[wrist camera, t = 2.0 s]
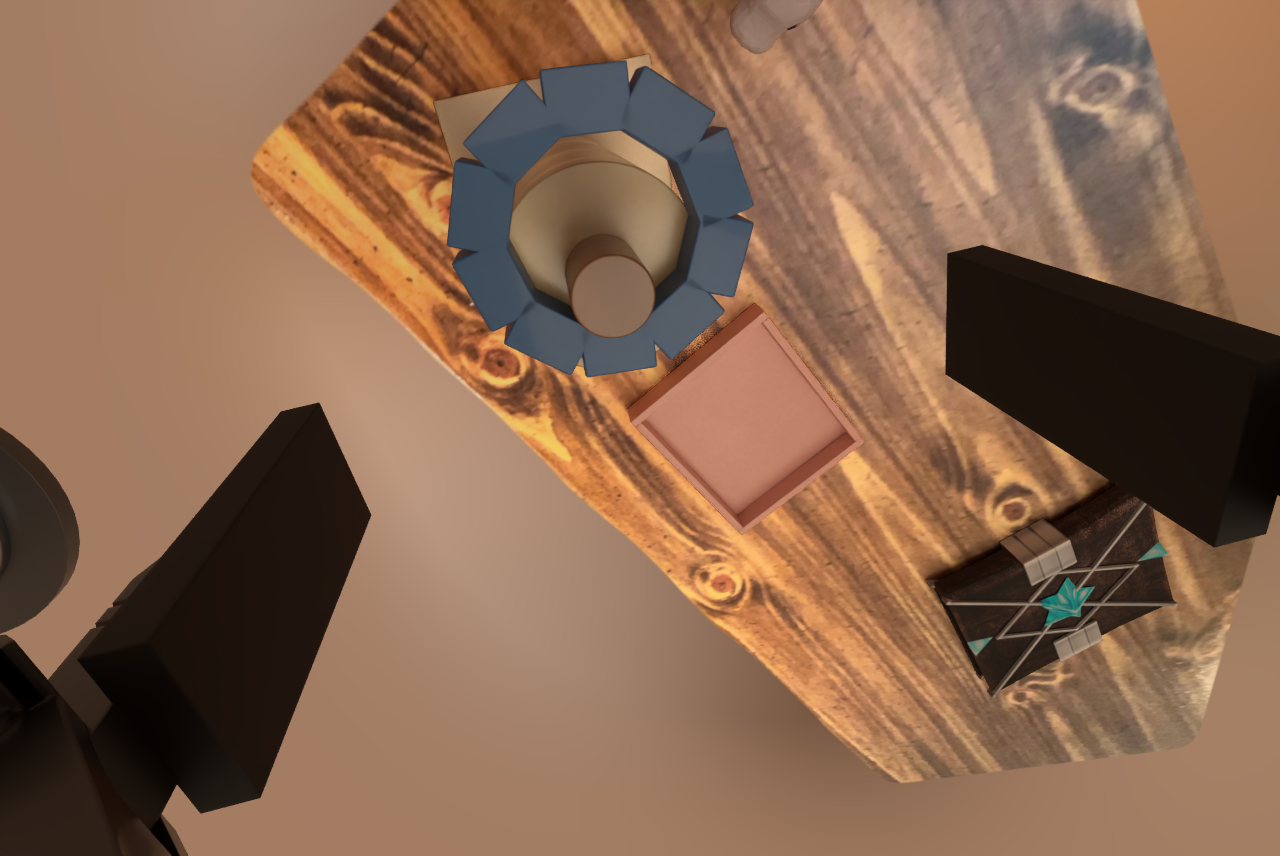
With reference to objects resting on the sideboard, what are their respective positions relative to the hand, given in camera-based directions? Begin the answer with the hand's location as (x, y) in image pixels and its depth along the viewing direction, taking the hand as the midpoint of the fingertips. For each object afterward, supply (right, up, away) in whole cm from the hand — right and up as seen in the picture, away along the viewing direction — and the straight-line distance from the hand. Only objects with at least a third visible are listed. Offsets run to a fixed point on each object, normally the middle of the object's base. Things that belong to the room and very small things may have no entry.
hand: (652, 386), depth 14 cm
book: (+42, -17, +56) cm, 72 cm away
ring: (-2, +6, +9) cm, 11 cm away
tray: (+8, 0, +42) cm, 43 cm away
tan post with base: (-5, +16, +32) cm, 37 cm away
